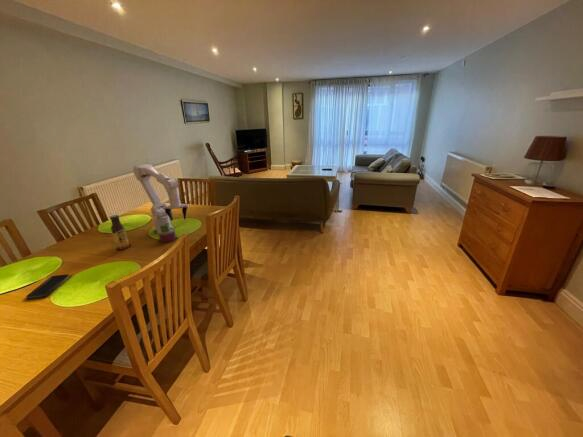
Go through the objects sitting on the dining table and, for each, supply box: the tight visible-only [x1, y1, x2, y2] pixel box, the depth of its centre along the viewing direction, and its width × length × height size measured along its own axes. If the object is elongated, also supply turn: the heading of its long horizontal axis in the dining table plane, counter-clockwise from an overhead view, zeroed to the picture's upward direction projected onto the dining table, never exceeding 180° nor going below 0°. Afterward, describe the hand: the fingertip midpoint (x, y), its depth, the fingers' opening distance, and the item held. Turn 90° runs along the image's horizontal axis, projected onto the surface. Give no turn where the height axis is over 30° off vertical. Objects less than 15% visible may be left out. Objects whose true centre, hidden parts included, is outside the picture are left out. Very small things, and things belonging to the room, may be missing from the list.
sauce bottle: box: [109, 214, 130, 250], centre depth 136 cm, size 6×6×20 cm
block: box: [160, 223, 171, 232], centre depth 146 cm, size 4×4×4 cm
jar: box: [157, 226, 177, 243], centre depth 148 cm, size 10×10×6 cm
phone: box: [25, 274, 70, 300], centre depth 107 cm, size 8×1×15 cm
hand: (178, 219), depth 151 cm, fingers open, 7 cm apart
